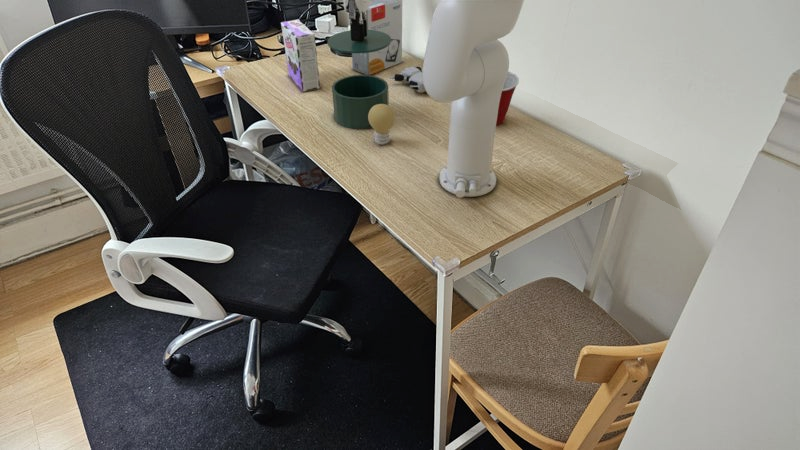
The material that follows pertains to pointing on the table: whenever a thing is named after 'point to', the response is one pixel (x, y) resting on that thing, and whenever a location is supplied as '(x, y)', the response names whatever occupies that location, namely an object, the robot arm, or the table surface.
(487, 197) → the table surface
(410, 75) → the robot toy
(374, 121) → the light bulb
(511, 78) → the plastic cup
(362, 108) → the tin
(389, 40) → the green pot lid
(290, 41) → the candy box
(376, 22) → the hard drive box
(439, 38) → the robot arm
